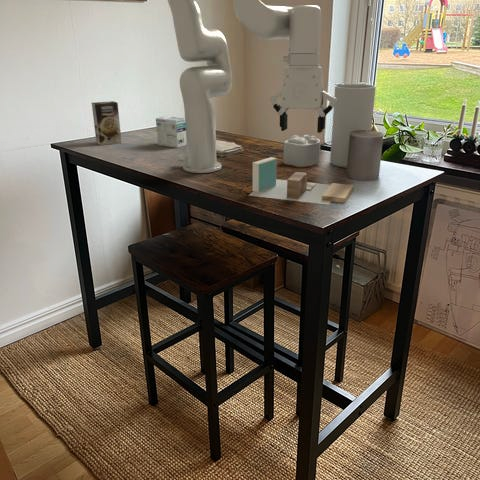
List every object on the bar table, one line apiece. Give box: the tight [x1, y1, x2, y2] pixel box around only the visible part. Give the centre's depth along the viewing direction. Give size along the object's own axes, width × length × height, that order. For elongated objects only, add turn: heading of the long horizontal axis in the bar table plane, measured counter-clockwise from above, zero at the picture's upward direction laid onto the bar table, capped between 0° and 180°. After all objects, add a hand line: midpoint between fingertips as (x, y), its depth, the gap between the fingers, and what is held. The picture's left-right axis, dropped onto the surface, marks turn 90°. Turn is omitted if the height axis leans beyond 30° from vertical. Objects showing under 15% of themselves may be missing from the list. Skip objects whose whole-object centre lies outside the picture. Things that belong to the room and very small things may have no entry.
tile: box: [252, 156, 278, 192], centre depth 133 cm, size 2×8×8 cm, turn 138°
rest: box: [322, 182, 354, 203], centre depth 128 cm, size 6×12×2 cm, turn 158°
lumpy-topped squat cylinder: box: [283, 134, 321, 168], centre depth 162 cm, size 10×13×9 cm
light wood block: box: [286, 171, 317, 199], centre depth 131 cm, size 14×6×5 cm, turn 158°
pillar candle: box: [345, 129, 385, 182], centre depth 141 cm, size 10×10×15 cm
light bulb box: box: [155, 115, 187, 148], centre depth 188 cm, size 11×7×11 cm, turn 58°
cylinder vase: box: [329, 83, 377, 169], centre depth 155 cm, size 12×12×25 cm
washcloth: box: [216, 139, 245, 158], centre depth 180 cm, size 12×18×3 cm, turn 47°
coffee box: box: [91, 101, 123, 146], centre depth 192 cm, size 9×6×16 cm
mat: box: [248, 178, 332, 206], centre depth 132 cm, size 22×17×1 cm
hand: (301, 130), depth 124 cm, fingers open, 9 cm apart
